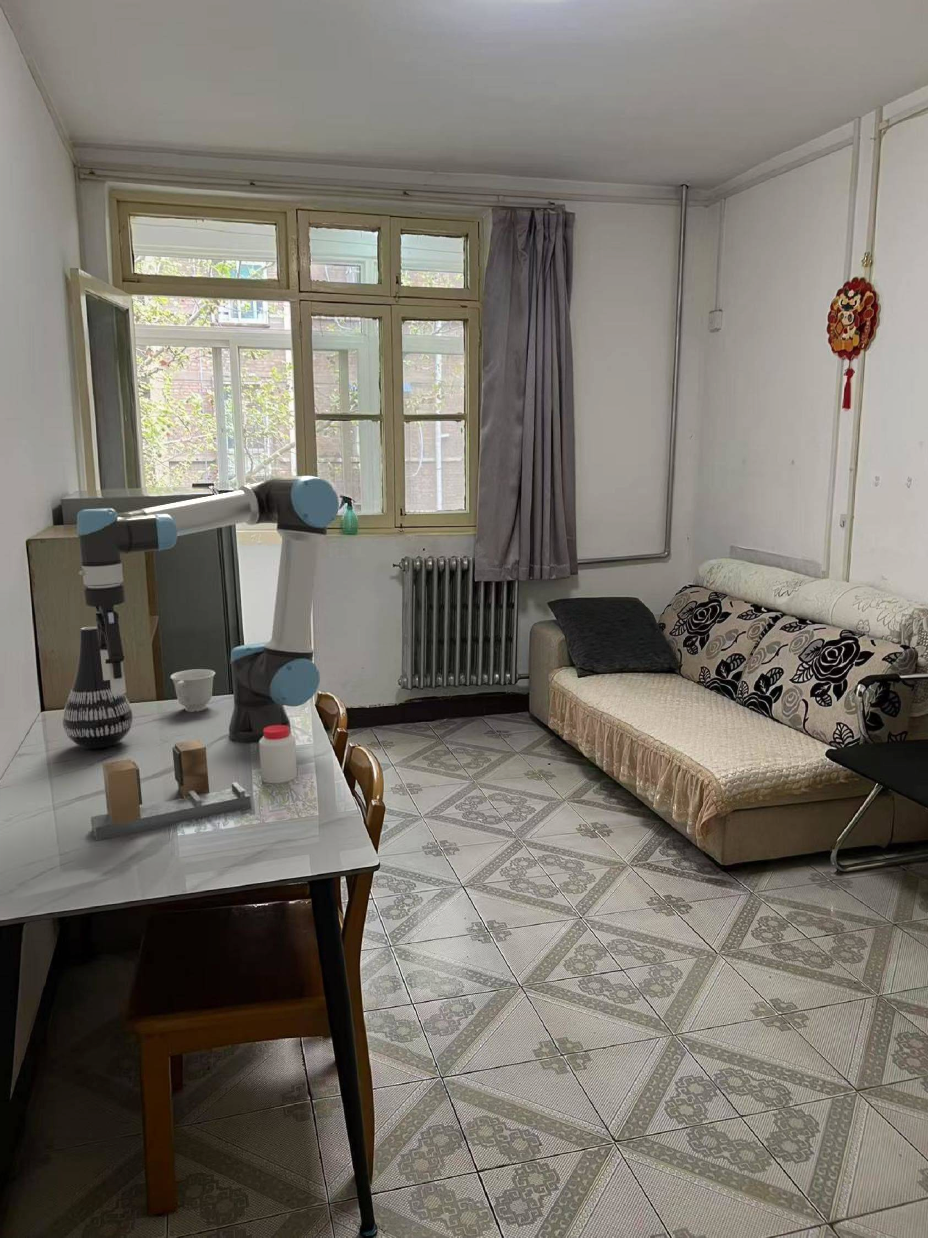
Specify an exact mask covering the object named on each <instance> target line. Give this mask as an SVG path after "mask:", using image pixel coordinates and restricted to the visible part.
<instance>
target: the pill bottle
mask: <svg viewBox="0 0 928 1238" xmlns="http://www.w3.org/2000/svg"><path fill="white" fill-rule="evenodd" d="M263 731H264V736H263V737H262V738H261V739H260V740H259V742H258V750H259V761H260V765H259V766H260V777H261V780H262V781H263V782H265V783H268V784H282V783H286V782H290V781H293V780H295V779H296V778H298V764H297V761H298V760H297V747H296V738H295V736H293V735H292V734H291V732H290V733H289V727H288V726H286V725H273V726H268V727H266V728H264V729H263Z"/></svg>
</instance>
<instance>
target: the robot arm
mask: <svg viewBox="0 0 928 1238" xmlns="http://www.w3.org/2000/svg"><path fill="white" fill-rule="evenodd" d="M339 502H340V501H339V497H338V495H337V492H336V490H335V489H334V487H333V485H332V484H330V482H328V481H327V480H325V479H324V478H321V477H318V476H313V475H292V476H291V475H284V476H283V475H281V476H276V477H272V478H268V479H265V480H261V481H257V482H253V483H251V484H249V483H248V484H245V485H241V486H239V488H238V489H237V490H236V491H230V492H226V493H225V492H223V493H219V494H215V495H209V496H203V497H197V498H193V499H187V500H182V501H176V502H172V503H166V504H161V505H156V506H155V505H154V506H151V507H150V506H149V507H146V508H140V509H133V510H129V511H124V512H118V511H116V509H114V508H110V507H108V508H87V509H82V510H79V511H78V513H77V516H76V527H77V528H76V529H77V533H76V534H77V536H78V544H79V552H80V560H81V561H80V562H81V568H82V570H79V575H80V576H83V578H82V580H83V585H84V586H86V587H85V588H84V589H83V590H84V598H85V605H87V607H88V606H89V607H91V608H93V607H94V608H95V609H96V612H95V621H96V625H97V626H96V627H97V628H98V644H99V645H100V646H99V647H100V649H103V650H100V653H101V663H102V672H103V680H104V681H105V680H110V684H111V693H112V695H114V694H121V693H124V694H127V689H126V688H127V687H126V678H125V668H124V660H125V655H124V651H123V645H122V638H121V633H120V625H119V613H118V612H117V611H116V610H115V609H114V608H115V607H114V606H116V605H117V606H118V605H122V604H124V603H125V601H126V596H125V587H124V585H123V584H121V583H123V582H124V576H123V575H124V573H123V563H122V558H121V555H122V554H130V553H131V554H132V553H141V552H143V553H144V552H152V551H158V552H161V551H162V550H168V549H170V550H171V549H172V548H173V547H174V546H175V545H176V543H177V540H178V537H179V536H180V537H181V536H185V535H189V534H194V533H199V532H204V531H208V530H213V529H219V528H224V527H227V526H228V527H229V526H232V525H233V526H234V525H236V524H243V523H246V524H247V525H249V526H253V525H257V524H276V532H277V533H278V534H279V536H280V537H281V540H282V541H281V549H280V557H279V566H278V575H277V584H276V595H275V605H274V611H273V612H274V613H273V622H272V633H271V639H270V640H269V641H266V642H265V641H263V642H257V643H249V644H245V645H239V646H236V647H234V648H232V649H231V651H230V662H229V663H230V666H231V667H230V669H231V680H232V692H233V705H234V706H233V711H232V713H231V714H232V715H231V718H230V722H229V726H228V737H229V738H230V739H231V740H232V741H235V742H239V743H249V744H250V743H251V744H253V743H259V740H260V739H261V738H262V737H263V736H264V731H263V729H264V728H266V727H268V726H273V725H286V726H288V727H289V733H290V734H291V732H292V730H291V727H292V726H291V722H290V718H289V716H288V714H287V712H286V709H285V707H284V706H287V707H299V706H301V705H303V704H306V703H308V701H309V700H310V699H312V698H313V697H314V696H315V694H316V693H317V690H318V689H319V685H320V678H321V677H320V674H321V673H320V671H319V668H318V667H317V665H316V664H315V663H314V662H313V661H314V649H313V647H312V646H311V645H310V644H309V635H310V629H311V628H310V627H311V620H312V619H311V618H312V610H313V600H314V593H315V582H316V581H315V580H316V571H317V565H318V564H317V563H318V555H319V545H320V543H321V541H323V540H324V539H325V538H326V537H327V531H328V526H330V525H331V524H332V523H333V521H335V520H336V518H337V516H338V512H339V509H340V508H339V507H340V504H339Z"/></svg>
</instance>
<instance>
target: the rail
mask: <svg viewBox="0 0 928 1238" xmlns="http://www.w3.org/2000/svg"><path fill="white" fill-rule="evenodd" d="M102 772H103V773H102V774H103V781H104V782H103V783H104V794H105V801H106V811H107V812H106V813H105V814H100V815H95V816H90V820H91V821H90V822H91V830H92V832H93V835H94V837H95V839H96V841H97V842H98V841H103V840H107V839H112V838H116V837H121V836H124V835H131V834H136V833H140V832H144V831H149V830H154V829H157V828H162V827H168V826H173V825H176V824H181V823H185V822H186V823H187V822H190V821H195V820H201V819H203V818H204V819H206V818H209V817H214V816H218V815H223V814H228V813H232V812H237V811H242V810H246V809H247V810H248V809H251V808H252V800H251V795H250V793H248V792H247V790H246V789H245V788H244V787H242V786H241V785H240V784H239V783H238V782H237V781H236V782H231V788H228V789H222V790H220V791H213V792H209V793H206V794H201V795H197V794H196V793H195V791H189V797H187V798H185V797H184V798H183V797H182V798H179V799H174V800H169V801H164V802H159V803H154V804H148V805H144V806H142V805H143V798H142V797H143V796H142V786H141V785H142V784H141V775H140V768H139V767H138V765H137V764H136V762H135V761H133V760H132V759H131V758H128V759H122V760H116V761H110V762H106V763H102Z"/></svg>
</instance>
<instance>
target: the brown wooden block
mask: <svg viewBox="0 0 928 1238" xmlns="http://www.w3.org/2000/svg"><path fill="white" fill-rule="evenodd" d="M206 748H207V747H206V745H204V744H203V743H202V741H200V739H194V740H188V741H184V742H178V743H174V746H172V759H173V771H174V779H175V781H176V782H177V787H178V790H179V792H180V793H181V794H182V796H183V797H184V798H188V797H189V791H195V793H196V794H197V795H203V794H208V793H210V784H209V772H208V759H207V757H208V756H207V749H206Z"/></svg>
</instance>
